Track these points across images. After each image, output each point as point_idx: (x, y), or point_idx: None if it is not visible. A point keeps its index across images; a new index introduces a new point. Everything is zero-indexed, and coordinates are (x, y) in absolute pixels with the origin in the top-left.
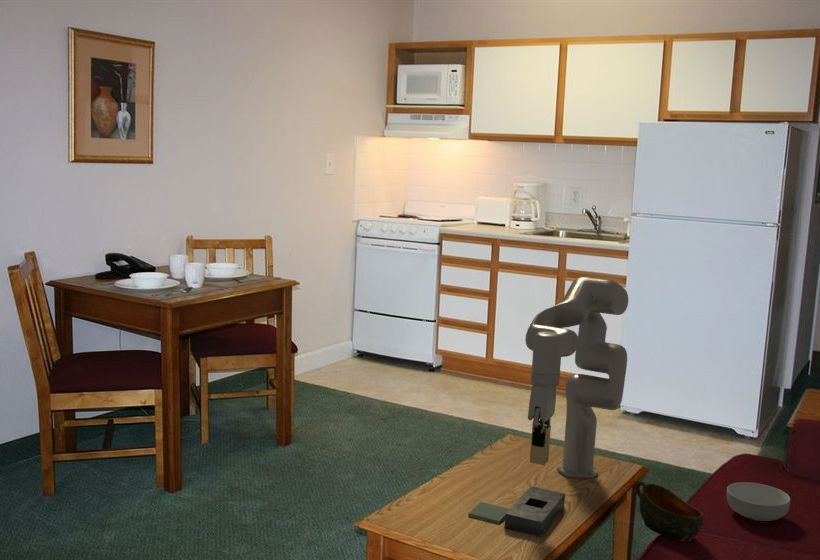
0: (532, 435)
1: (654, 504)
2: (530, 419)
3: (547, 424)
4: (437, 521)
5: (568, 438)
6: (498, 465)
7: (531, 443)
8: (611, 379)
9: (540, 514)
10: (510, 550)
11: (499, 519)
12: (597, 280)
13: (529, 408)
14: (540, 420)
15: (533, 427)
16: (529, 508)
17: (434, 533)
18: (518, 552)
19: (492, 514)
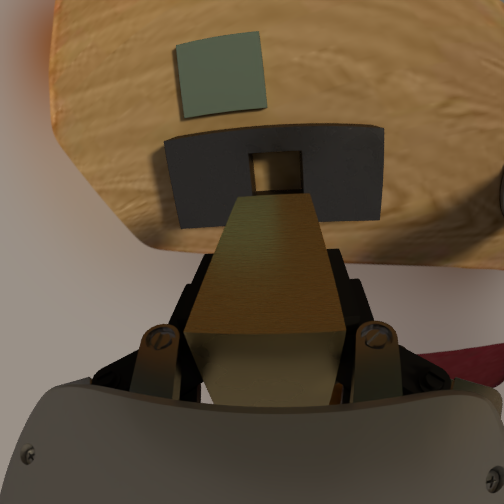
0: (205, 283)
1: (335, 384)
2: (117, 389)
3: (343, 390)
4: (119, 26)
5: None
6: (486, 31)
7: (218, 245)
8: None
9: (216, 211)
10: (109, 193)
11: (191, 113)
12: None
13: (5, 483)
14: (353, 378)
15: (99, 371)
16: (232, 175)
17: (78, 60)
18: (113, 207)
19: (206, 87)
